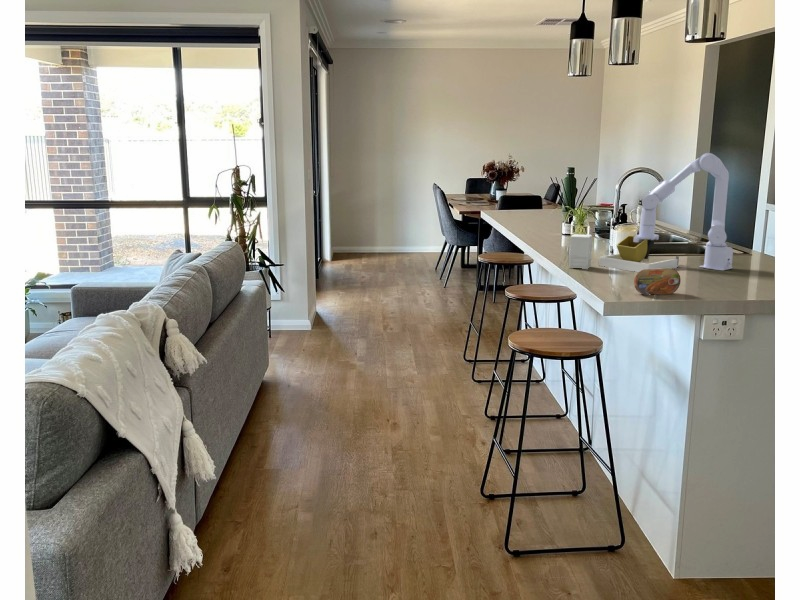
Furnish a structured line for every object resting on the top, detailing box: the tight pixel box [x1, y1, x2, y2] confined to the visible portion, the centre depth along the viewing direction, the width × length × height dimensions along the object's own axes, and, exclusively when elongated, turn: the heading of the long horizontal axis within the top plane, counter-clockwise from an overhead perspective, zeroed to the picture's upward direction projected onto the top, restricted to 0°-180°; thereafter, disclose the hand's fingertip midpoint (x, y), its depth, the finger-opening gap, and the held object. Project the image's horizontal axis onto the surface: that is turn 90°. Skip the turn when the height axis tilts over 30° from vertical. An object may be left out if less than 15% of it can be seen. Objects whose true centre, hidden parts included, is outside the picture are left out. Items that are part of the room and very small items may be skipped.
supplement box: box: [568, 233, 593, 270], centre depth 269 cm, size 7×7×13 cm
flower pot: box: [616, 235, 647, 263], centre depth 276 cm, size 9×9×9 cm
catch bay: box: [598, 253, 680, 273], centre depth 272 cm, size 22×21×4 cm
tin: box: [633, 268, 682, 296], centre depth 223 cm, size 15×3×8 cm, turn 100°
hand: (644, 258), depth 278 cm, fingers closed, pressing on flower pot
